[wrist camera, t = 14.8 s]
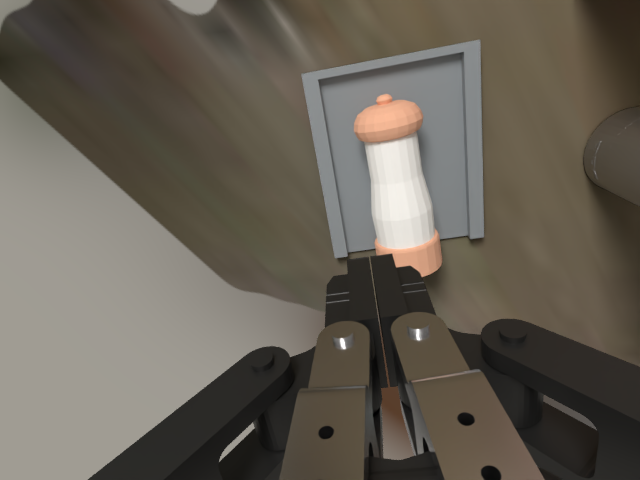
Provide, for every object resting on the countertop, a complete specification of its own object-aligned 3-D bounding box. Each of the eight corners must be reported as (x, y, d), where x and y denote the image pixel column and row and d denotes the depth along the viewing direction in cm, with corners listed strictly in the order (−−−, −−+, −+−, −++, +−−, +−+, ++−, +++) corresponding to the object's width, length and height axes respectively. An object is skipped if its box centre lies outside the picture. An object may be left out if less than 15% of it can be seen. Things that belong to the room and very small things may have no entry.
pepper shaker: (402, 287, 44) (370, 103, 36) (367, 265, 50) (335, 104, 43) (456, 262, 46) (436, 84, 38) (416, 244, 52) (393, 88, 45)
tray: (475, 40, 42) (480, 39, 40) (480, 232, 50) (484, 237, 49) (302, 73, 44) (301, 74, 42) (335, 252, 52) (334, 258, 51)
